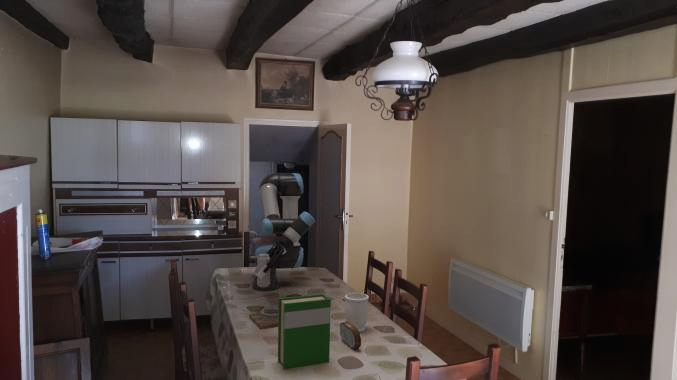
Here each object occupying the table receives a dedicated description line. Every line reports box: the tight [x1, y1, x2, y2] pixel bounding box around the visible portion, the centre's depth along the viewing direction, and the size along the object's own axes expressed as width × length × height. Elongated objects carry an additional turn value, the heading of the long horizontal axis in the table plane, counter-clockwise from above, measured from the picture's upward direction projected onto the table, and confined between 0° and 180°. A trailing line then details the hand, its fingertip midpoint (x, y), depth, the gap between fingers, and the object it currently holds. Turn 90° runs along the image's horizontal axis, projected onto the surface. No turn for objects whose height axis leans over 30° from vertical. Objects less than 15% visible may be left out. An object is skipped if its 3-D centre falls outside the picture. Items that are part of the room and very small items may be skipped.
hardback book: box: [277, 293, 332, 371], centre depth 185 cm, size 18×7×24 cm, turn 114°
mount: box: [248, 307, 279, 330], centre depth 229 cm, size 16×16×4 cm
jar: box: [344, 292, 370, 333], centre depth 221 cm, size 11×10×15 cm
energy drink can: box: [257, 254, 270, 287], centre depth 237 cm, size 6×6×15 cm
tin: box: [339, 320, 362, 350], centre depth 203 cm, size 15×3×8 cm, turn 25°
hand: (256, 275), depth 236 cm, fingers closed on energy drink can, 6 cm apart
